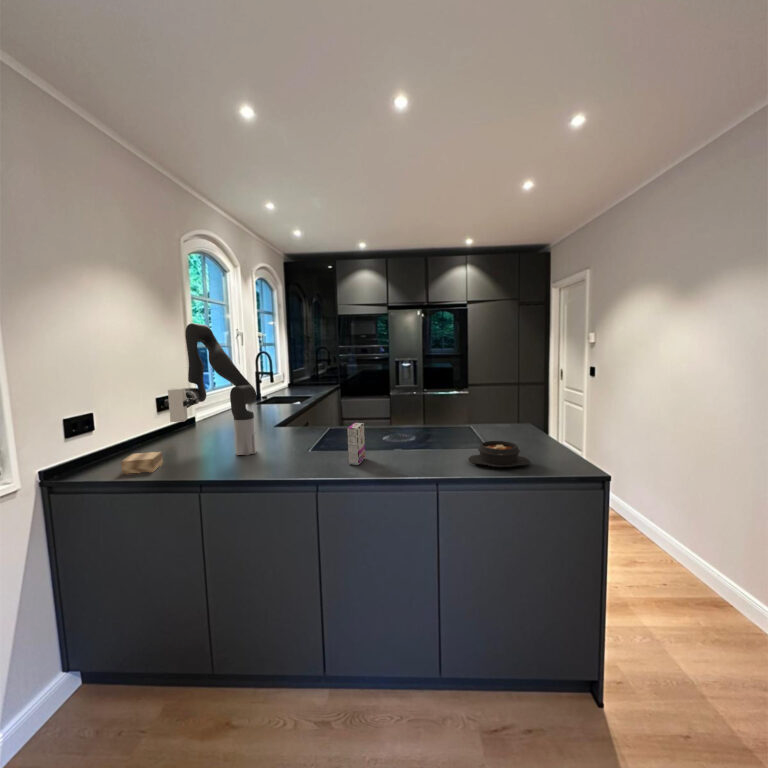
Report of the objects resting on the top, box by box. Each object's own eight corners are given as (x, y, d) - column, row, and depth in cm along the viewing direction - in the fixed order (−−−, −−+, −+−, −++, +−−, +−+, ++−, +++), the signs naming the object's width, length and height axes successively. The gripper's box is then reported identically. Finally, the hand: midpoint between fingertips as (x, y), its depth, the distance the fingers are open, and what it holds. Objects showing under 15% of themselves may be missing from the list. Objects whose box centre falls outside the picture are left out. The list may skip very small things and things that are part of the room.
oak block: (163, 464, 181) (161, 451, 181) (154, 472, 169) (152, 458, 169) (133, 466, 179) (132, 453, 178) (122, 475, 167) (121, 461, 166)
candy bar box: (355, 458, 183) (353, 422, 181) (365, 458, 182) (364, 422, 180) (347, 465, 172) (346, 428, 170) (359, 466, 171) (358, 428, 169)
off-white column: (187, 419, 179) (185, 387, 177) (184, 421, 173) (181, 389, 172) (174, 419, 177) (171, 388, 176) (170, 422, 172) (167, 389, 171)
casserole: (469, 470, 162) (469, 450, 161) (467, 457, 180) (467, 439, 179) (534, 472, 158) (534, 451, 157) (525, 458, 176) (525, 440, 175)
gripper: (169, 392, 187) (157, 396, 170) (202, 390, 190) (193, 395, 173) (170, 407, 187) (158, 414, 171) (203, 406, 190) (194, 412, 174)
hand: (176, 404), depth 172 cm, fingers closed on off-white column, 5 cm apart
